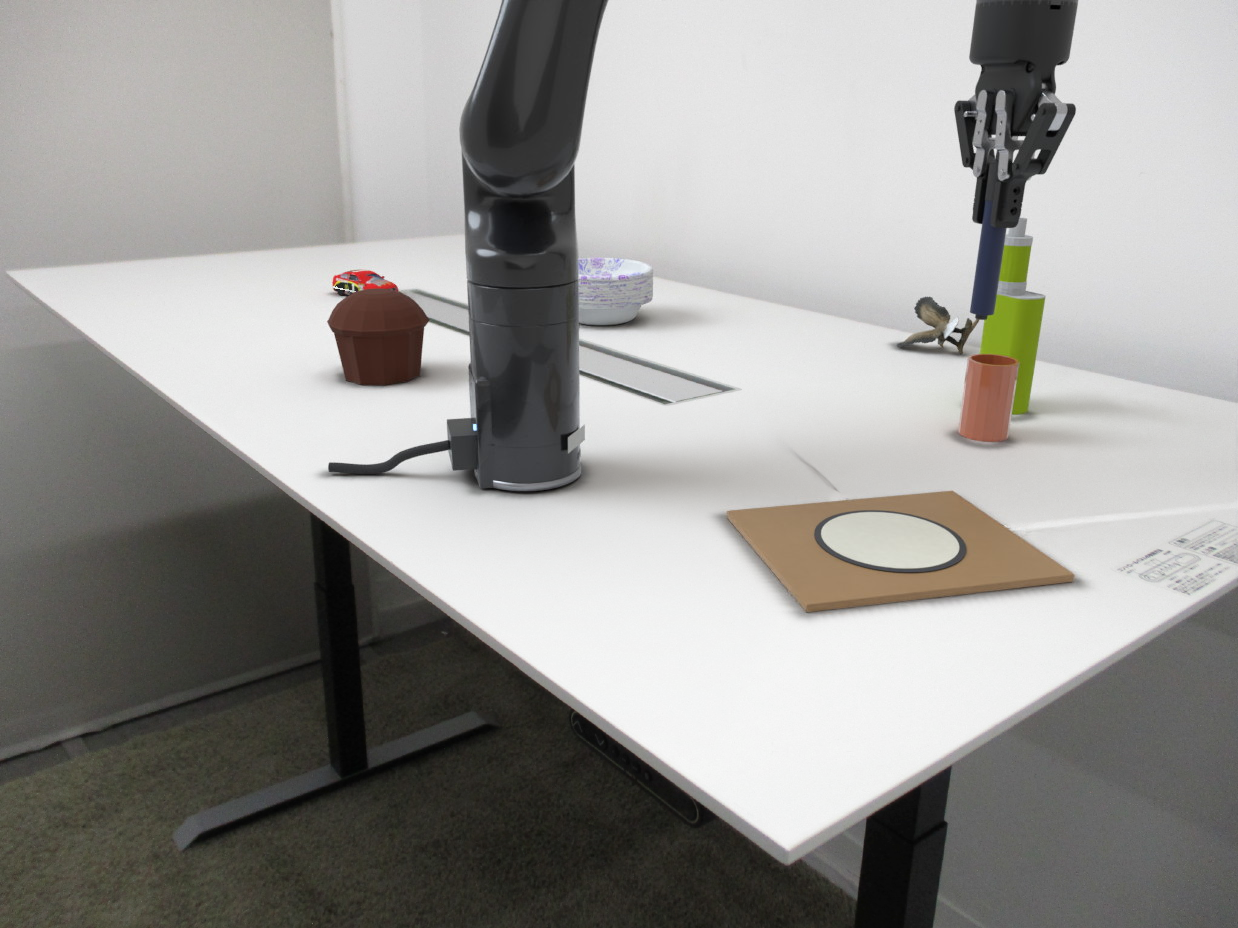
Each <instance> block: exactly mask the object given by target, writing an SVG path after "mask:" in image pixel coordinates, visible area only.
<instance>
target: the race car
mask: <svg viewBox="0 0 1238 928" xmlns="http://www.w3.org/2000/svg"><path fill="white" fill-rule="evenodd" d="M331 282H332V283H331V284H332V290H333V291H335V292H336V293H337V294H338V295H339V296H346V295H347V296H349V295H350V294H352V293H354V292H350V291H345V290H340V289H335V288H333V286H335V287H336V286H337V287H338V288H343V289H349V290H352V291H356V292H357V291H361V290H365V289H373V288H382V289H390V290H395V291H399V292H400V290H399V287H398V285H397V284H396V283H394V282H393V281H390V280H387V279H386V278H385V276H384V275H380V274H378V273H377V272H375V271H372V270H369V269H353V270H348V271H343V272H341V273H339V274H335V275H333V277H332V281H331Z"/></svg>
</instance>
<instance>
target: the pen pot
mask: <svg viewBox="0 0 1238 928" xmlns="http://www.w3.org/2000/svg"><path fill="white" fill-rule="evenodd" d="M1018 369H1019V361H1018V360H1017V359H1015V358H1012V357H1009V356H1005V355H998V354H980V353H974V354H970V355H968V356H967V360H966V368H965V376H964V383H963V389H962V390H963V391H962V399H961V406H960V407H961V408H960V413H959V420H958V421H959V422H958V427H957V429H958V434H959V435H960V436H961V437H963V438H965V439H969V440H971V441H977V442H982V443H997V442H999V443H1000V442H1003V441H1006V440H1007V439H1008V438H1009V434H1010V429H1011V422H1012V416H1013V415H1012V409H1013V402H1014V395H1015V389H1016V382H1017V375H1018Z"/></svg>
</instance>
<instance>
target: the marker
mask: <svg viewBox="0 0 1238 928" xmlns="http://www.w3.org/2000/svg"><path fill="white" fill-rule="evenodd" d="M998 166H999V163H990V166H989V173H988V180H987V188H986V195H985V207H984V214H983V221H982V224H981V229H980V237H979V243H978V244H979V245H978V250H977V258H976V265H975V271H974V280H973V288H972V293H971V299H970V300H971V301H970V309H969V313H970V314H973V315H975V316H974V319H975V320H976V319H979V321H984V320H986V319H987V317H988V315H993V314H994V311H995V304H996V297H997V290H998V284H999V277H1000V270H1001V263H1002V257H1003V250H1004V243H1005V236H1006V234H1007V229H1008V228H996V227H992V226H991V224H990V220H991V213H992V206H993V199H994V192H995V185H996V181H1000V180H999V178H998Z"/></svg>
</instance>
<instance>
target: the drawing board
mask: <svg viewBox="0 0 1238 928" xmlns="http://www.w3.org/2000/svg"><path fill="white" fill-rule="evenodd" d="M726 519H728V521H729V522H730V523H731V524H732V526H733V527H734V528H735V529H736V531H738V533H739V534H740V535H741V537H743V539H744V540H745V541H746V542H747V543H748V545H749V546H750V547H751V548H752V549H753V550H754V552H755V553H756V554H757V556H759V557H760V559H761V560H762V561H763V562H764V564H765V565H766V566H767V567H768V568H769V569H770V571H771V572H772V574H774V575H775V577H776V579H778V580H779V581H780V582H781V584H782V585H783V586H784V587H785V588H786V590H787V591H788V592H789V593H790V595H791V596H792V597H793V598H794V600H795V601H796V602H797V603H798V604H799V605H800V606H801V608H802V609H803V610H804V611H805V613H811V612H819V611H828V610H837V609H845V608H846V609H847V608H854V607H865V606H872V605H881V604H891V603H898V602H907V601H917V600H925V599H934V598H943V597H950V596H952V597H953V596H959V595H968V594H976V593H986V592H995V591H1002V590H1003V591H1004V590H1011V589H1020V588H1021V589H1022V588H1030V587H1038V586H1039V587H1040V586H1046V585H1048V586H1049V585H1055V584H1066V583H1073V582H1074V579H1075V573H1074V572H1072V571H1070V570H1069V569H1068V568H1066V567H1065V566H1063V565H1062V564H1060V563H1059V562H1058V561H1056V560H1054V559H1053V558H1052V557H1050V556H1049V555H1047V554H1046V553H1044V552H1042V551H1041V550H1040V549H1039V548H1037V547H1035V546H1034V545H1032V544H1031V543H1029V542H1028V541H1027V540H1025V539H1023V537H1021V536H1019V535H1018V534H1017V533H1016V532H1014V531H1012V530H1011V529H1009V528H1008V527H1006V526H1005V525H1003V524H1002V523H1000V522H999V521H997V520H996V519H995V518H993V517H992V516H990V515H989V514H987V513H986V512H984V511H983V510H981V509H980V508H979V507H977V506H976V505H974V504H973V503H971V502H970V501H969V500H967V499H965V498H964V497H962V496H961V495H960V494H959V493H957V492H955V491H954V490H945V491H944V490H943V491H933V492H922V493H921V492H920V493H910V494H899V495H889V496H888V495H887V496H877V497H867V498H866V497H865V498H855V499H843V500H833V501H821V502H810V503H809V502H808V503H799V504H798V503H797V504H788V505H787V504H785V505H778V506H777V505H775V506H766V507H755V508H753V507H752V508H743V509H742V508H741V509H732V510H727V511H726Z"/></svg>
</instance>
